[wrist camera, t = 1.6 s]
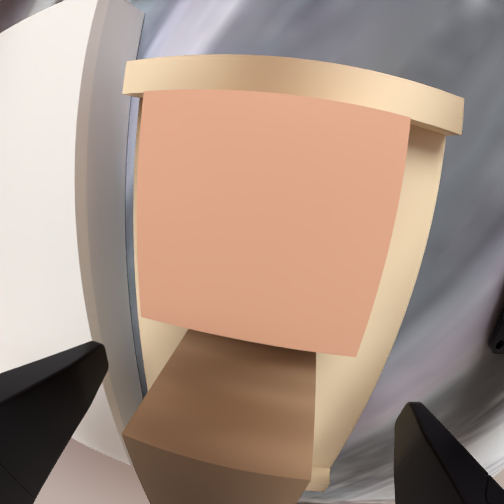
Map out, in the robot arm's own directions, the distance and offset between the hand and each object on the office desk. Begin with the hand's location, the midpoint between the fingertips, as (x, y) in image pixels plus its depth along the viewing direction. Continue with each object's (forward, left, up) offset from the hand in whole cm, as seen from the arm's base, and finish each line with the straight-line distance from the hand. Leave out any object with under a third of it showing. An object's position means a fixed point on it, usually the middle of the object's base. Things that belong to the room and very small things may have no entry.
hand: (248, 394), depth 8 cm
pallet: (0, 0, -4) cm, 5 cm away
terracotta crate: (0, -5, -2) cm, 6 cm away
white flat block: (+12, 0, -4) cm, 12 cm away
